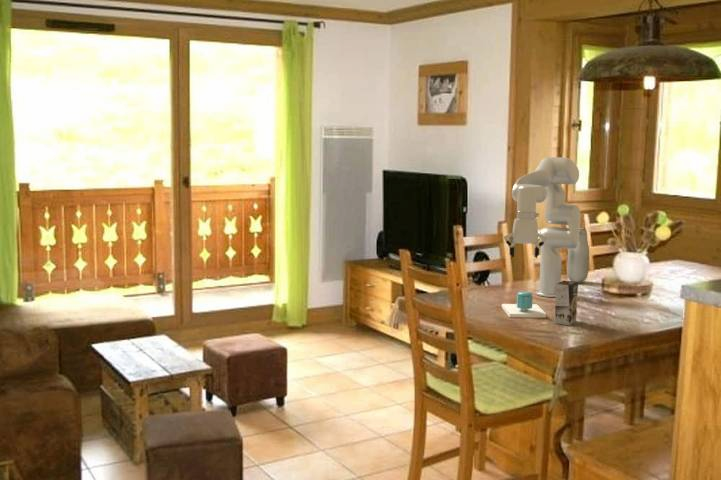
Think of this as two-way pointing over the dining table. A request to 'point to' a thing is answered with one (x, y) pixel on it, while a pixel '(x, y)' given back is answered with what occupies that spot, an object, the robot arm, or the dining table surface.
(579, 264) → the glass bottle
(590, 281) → the dining table surface
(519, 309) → the mount
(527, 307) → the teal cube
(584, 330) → the dining table surface
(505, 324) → the dining table surface
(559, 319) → the coffee box
